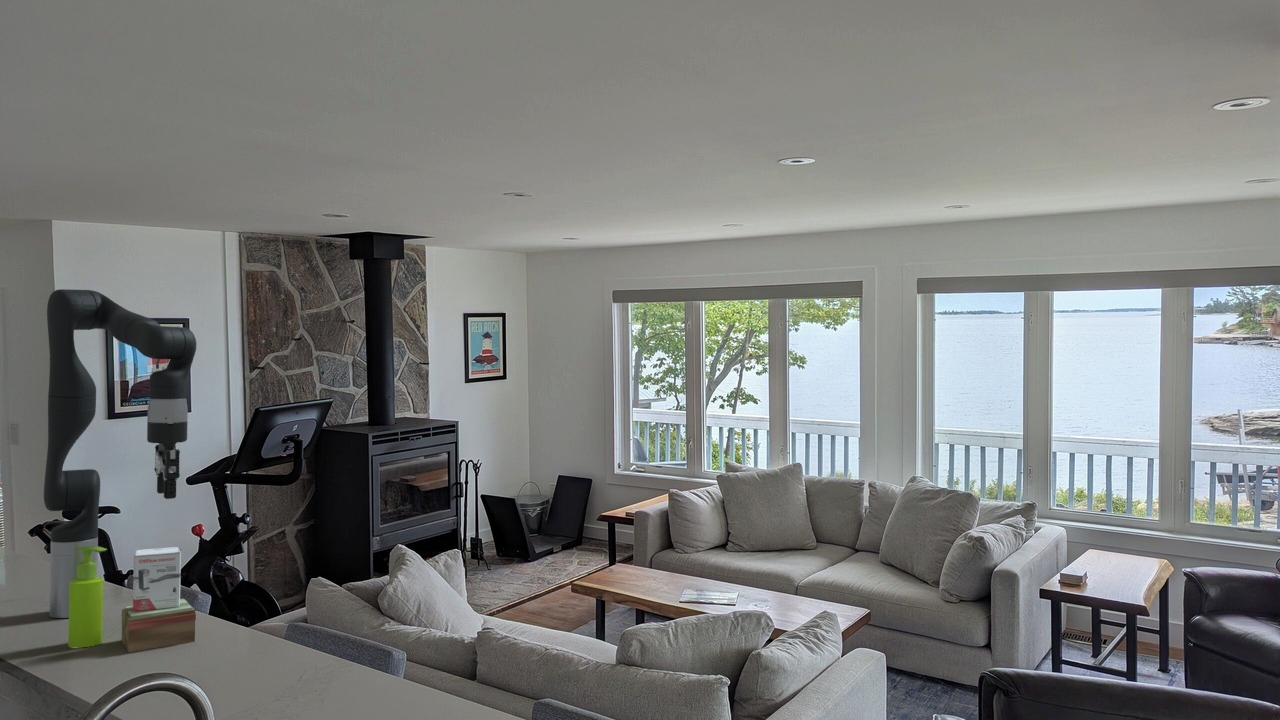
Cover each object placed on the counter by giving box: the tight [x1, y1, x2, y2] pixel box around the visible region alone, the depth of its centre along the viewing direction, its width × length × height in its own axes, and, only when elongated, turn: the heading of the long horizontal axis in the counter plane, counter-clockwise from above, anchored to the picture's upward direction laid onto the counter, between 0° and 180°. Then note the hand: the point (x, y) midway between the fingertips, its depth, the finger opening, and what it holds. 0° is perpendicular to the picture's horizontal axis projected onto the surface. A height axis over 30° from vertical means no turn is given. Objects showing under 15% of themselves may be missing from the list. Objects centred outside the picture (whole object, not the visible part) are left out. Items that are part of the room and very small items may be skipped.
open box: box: [121, 598, 197, 653], centre depth 180 cm, size 11×12×7 cm
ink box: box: [132, 546, 182, 612], centre depth 180 cm, size 9×5×12 cm, turn 120°
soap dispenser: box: [67, 545, 108, 648], centre depth 177 cm, size 6×7×20 cm
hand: (166, 495), depth 183 cm, fingers open, 8 cm apart
